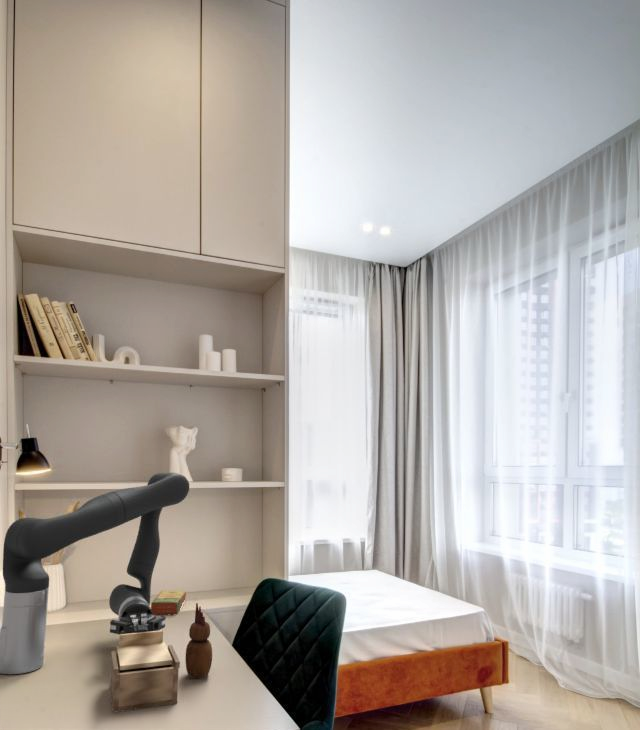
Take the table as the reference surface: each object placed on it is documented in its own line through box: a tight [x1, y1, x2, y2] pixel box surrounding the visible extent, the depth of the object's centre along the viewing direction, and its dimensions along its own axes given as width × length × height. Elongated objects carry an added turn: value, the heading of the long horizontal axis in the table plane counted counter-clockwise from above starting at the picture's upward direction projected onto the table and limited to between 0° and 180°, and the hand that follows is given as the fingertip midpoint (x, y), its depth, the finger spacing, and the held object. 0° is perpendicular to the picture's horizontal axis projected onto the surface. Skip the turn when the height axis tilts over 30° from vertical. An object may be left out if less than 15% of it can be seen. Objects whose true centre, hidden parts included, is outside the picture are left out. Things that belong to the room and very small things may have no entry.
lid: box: [116, 629, 173, 670], centre depth 123 cm, size 10×13×3 cm
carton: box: [150, 590, 187, 616], centre depth 190 cm, size 8×16×4 cm, turn 3°
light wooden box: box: [109, 644, 181, 713], centre depth 121 cm, size 12×13×8 cm
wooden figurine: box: [185, 602, 213, 679], centre depth 132 cm, size 7×6×15 cm
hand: (141, 634), depth 129 cm, fingers closed
